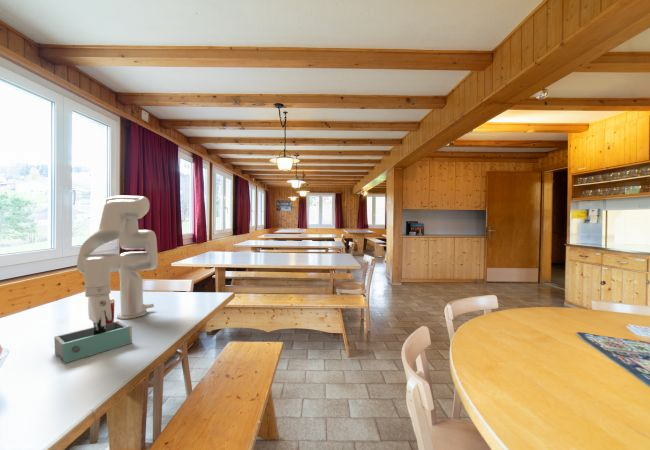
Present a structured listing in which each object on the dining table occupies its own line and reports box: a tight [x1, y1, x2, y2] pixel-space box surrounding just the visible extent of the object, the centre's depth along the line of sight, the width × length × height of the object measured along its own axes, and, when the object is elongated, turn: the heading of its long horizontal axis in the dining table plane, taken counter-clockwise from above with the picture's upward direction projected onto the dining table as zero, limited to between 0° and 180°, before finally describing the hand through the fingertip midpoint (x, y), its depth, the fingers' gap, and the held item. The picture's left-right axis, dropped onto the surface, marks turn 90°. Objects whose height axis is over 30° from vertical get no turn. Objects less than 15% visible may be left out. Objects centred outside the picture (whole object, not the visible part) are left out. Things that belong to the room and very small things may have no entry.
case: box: [53, 321, 128, 363], centre depth 115 cm, size 20×12×6 cm, turn 141°
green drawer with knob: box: [63, 325, 133, 364], centre depth 111 cm, size 21×3×6 cm, turn 142°
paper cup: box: [106, 297, 116, 324], centre depth 131 cm, size 8×8×14 cm
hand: (99, 339), depth 113 cm, fingers closed
